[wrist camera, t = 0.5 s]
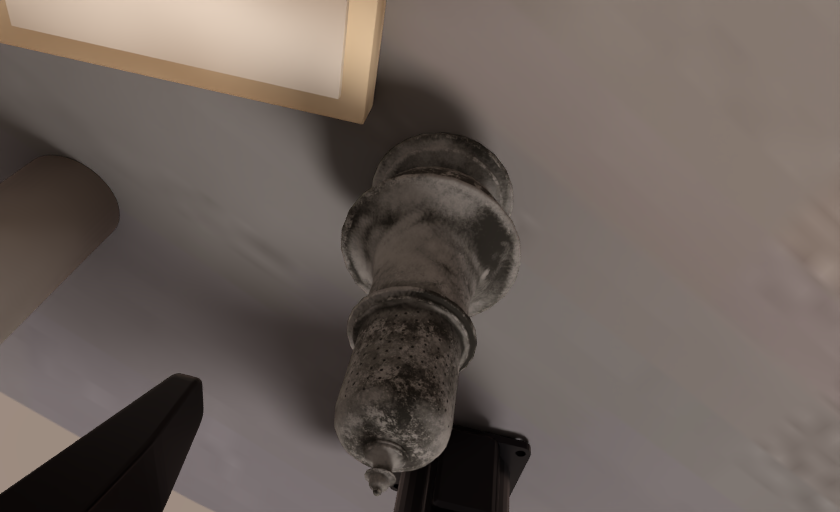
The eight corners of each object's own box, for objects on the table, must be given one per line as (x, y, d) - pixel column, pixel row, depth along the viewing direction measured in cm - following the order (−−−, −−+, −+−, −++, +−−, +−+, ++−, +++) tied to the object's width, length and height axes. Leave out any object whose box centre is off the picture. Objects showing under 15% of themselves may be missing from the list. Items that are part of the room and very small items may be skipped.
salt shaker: (339, 215, 23) (207, 499, 13) (410, 92, 19) (300, 357, 10) (466, 283, 24) (428, 589, 14) (554, 178, 21) (580, 490, 11)
